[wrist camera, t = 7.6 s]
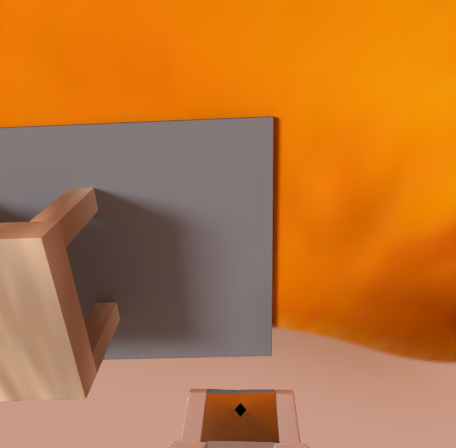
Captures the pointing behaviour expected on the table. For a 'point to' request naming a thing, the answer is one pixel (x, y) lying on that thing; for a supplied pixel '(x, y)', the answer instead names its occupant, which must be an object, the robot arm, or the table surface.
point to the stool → (49, 307)
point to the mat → (160, 227)
